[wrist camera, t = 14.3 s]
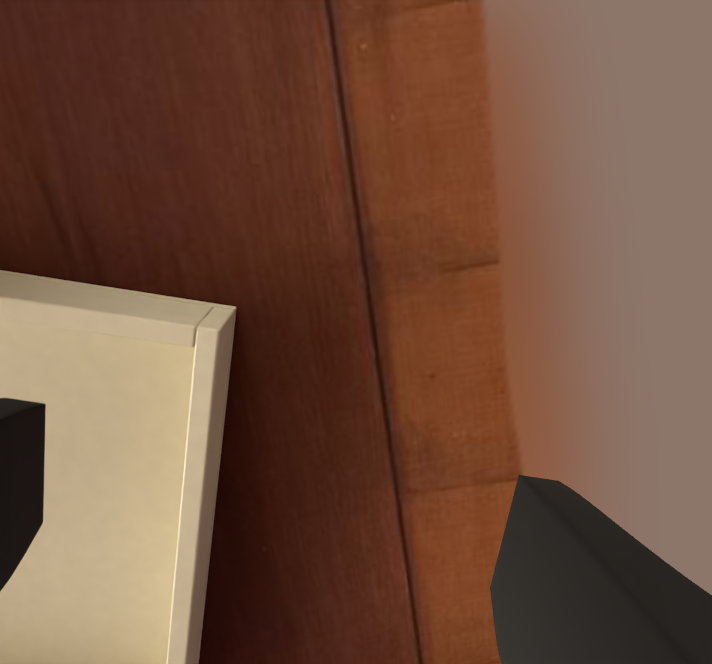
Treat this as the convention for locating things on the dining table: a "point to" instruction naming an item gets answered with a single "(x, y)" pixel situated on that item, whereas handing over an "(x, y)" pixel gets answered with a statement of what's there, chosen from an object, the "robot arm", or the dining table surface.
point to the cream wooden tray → (115, 469)
